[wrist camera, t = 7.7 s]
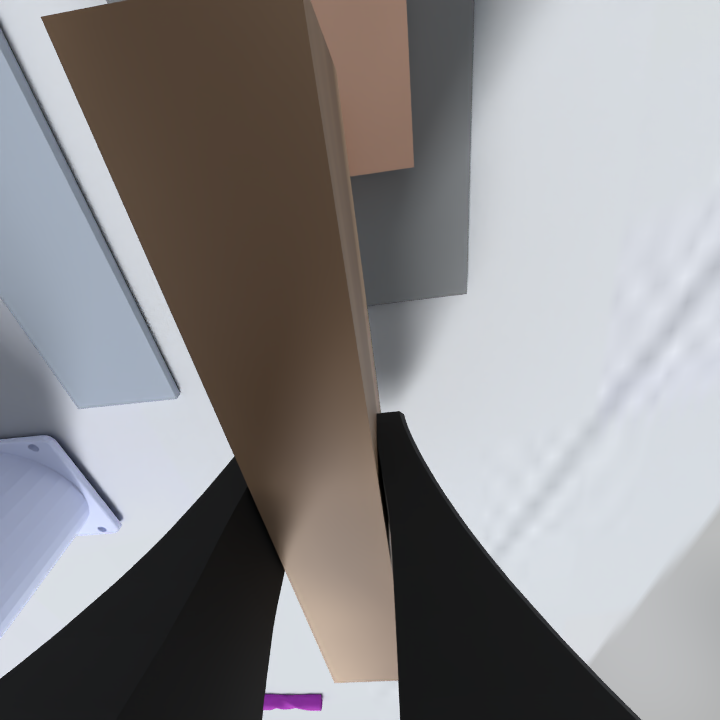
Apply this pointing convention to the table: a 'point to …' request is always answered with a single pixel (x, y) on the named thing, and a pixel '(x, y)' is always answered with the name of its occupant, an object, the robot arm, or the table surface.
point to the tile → (371, 80)
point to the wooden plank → (257, 273)
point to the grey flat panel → (66, 266)
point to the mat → (424, 168)
